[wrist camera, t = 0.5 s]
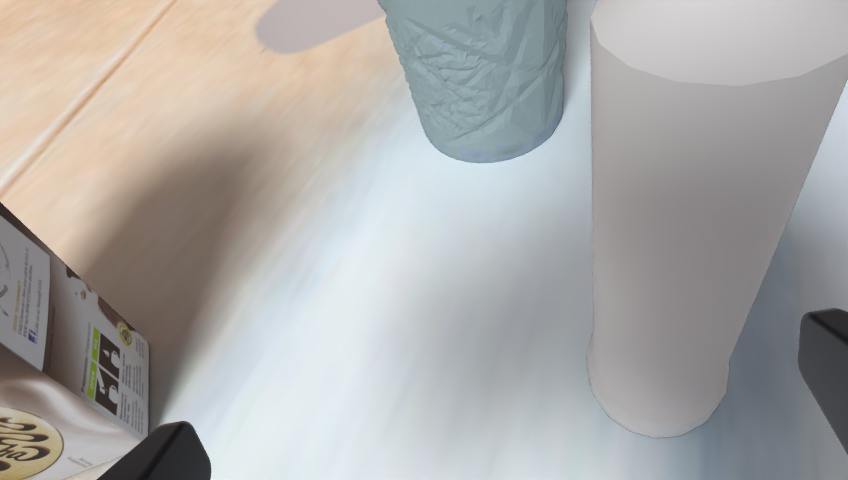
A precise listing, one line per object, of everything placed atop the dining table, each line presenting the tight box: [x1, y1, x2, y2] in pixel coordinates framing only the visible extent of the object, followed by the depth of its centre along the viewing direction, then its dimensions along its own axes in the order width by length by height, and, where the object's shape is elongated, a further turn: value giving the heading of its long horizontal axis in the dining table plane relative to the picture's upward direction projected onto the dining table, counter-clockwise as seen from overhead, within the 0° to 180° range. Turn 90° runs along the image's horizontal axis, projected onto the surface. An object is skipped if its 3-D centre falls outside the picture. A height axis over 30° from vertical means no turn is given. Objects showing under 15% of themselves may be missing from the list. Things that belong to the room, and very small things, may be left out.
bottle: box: [586, 0, 848, 438], centre depth 15 cm, size 5×5×25 cm
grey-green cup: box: [377, 0, 567, 163], centre depth 33 cm, size 10×10×12 cm
